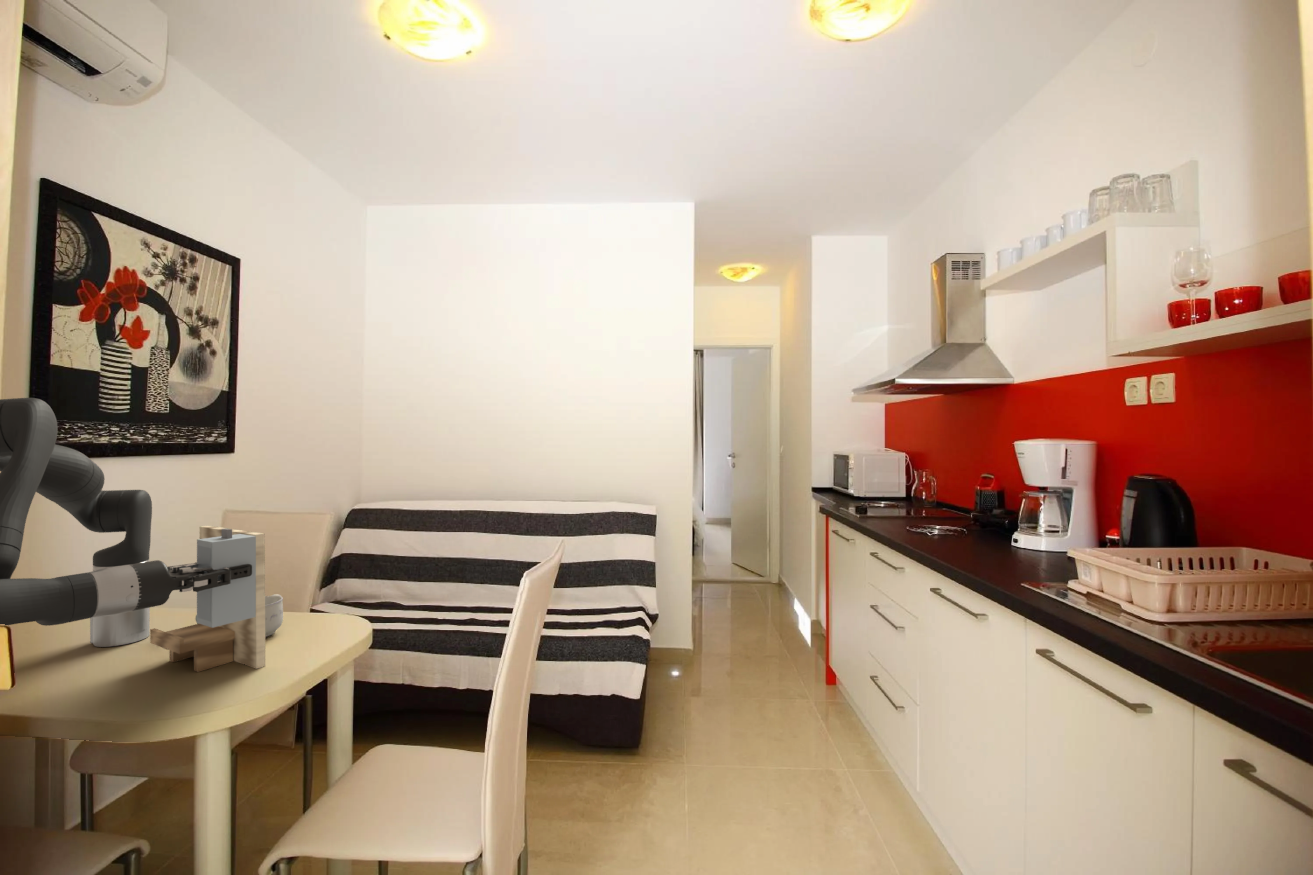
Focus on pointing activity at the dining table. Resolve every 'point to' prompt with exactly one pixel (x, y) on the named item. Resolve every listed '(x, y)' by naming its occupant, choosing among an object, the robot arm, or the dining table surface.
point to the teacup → (273, 613)
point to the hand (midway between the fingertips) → (241, 567)
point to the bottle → (240, 593)
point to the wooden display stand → (222, 626)
